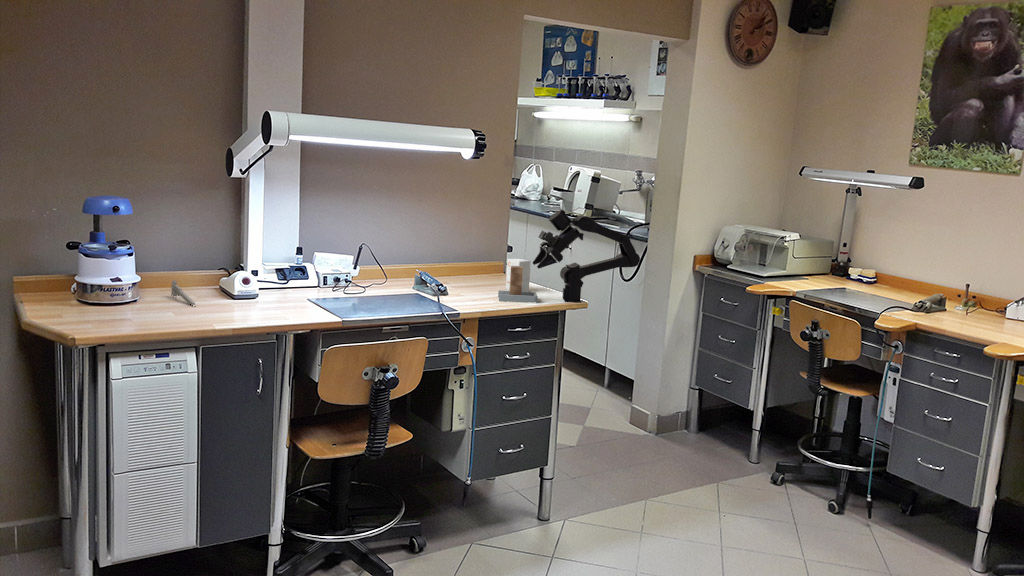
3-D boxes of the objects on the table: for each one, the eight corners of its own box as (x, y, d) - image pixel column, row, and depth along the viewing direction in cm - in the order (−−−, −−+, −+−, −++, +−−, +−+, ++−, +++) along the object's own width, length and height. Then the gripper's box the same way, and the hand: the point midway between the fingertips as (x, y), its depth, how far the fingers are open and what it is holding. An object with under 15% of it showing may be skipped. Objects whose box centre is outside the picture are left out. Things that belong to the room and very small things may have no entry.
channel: (535, 298, 334) (535, 292, 333) (537, 302, 324) (537, 296, 324) (498, 296, 333) (498, 290, 332) (498, 301, 324) (499, 294, 323)
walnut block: (520, 298, 331) (522, 266, 329) (520, 300, 327) (522, 268, 324) (509, 298, 331) (510, 265, 328) (509, 300, 326) (511, 267, 324)
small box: (529, 291, 347) (531, 260, 345) (517, 292, 343) (519, 261, 341) (516, 288, 353) (518, 257, 351) (505, 289, 349) (507, 258, 347)
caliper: (171, 296, 299) (170, 279, 297) (174, 296, 299) (173, 279, 298) (193, 307, 284) (193, 289, 283) (196, 307, 284) (196, 289, 283)
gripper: (547, 221, 335) (518, 247, 335) (557, 226, 316) (526, 254, 316) (564, 242, 337) (535, 267, 337) (575, 248, 319) (545, 275, 319)
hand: (535, 265), depth 328 cm, fingers open, 9 cm apart
